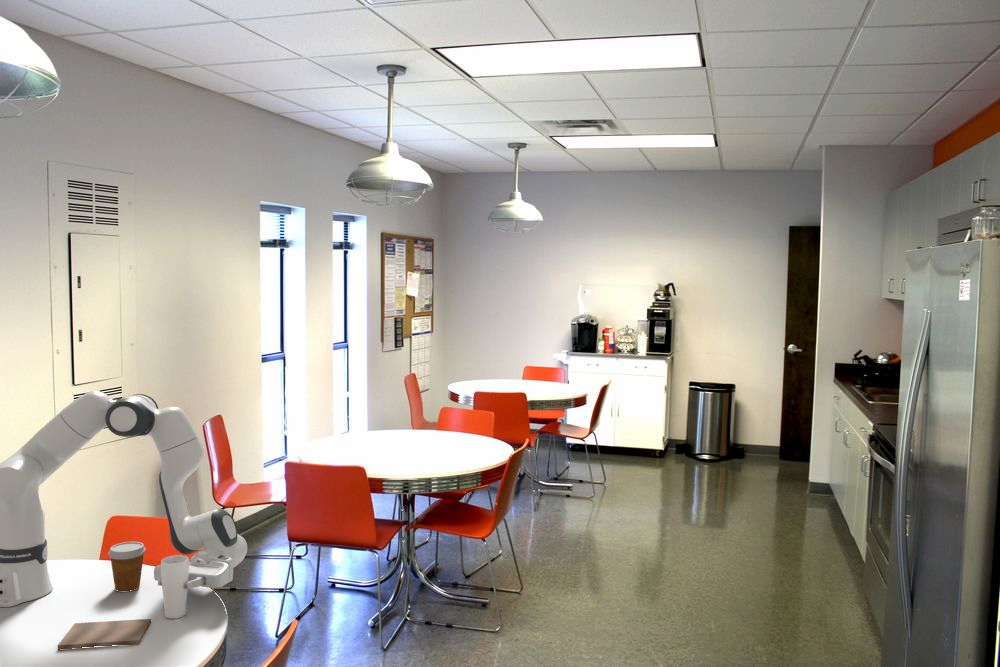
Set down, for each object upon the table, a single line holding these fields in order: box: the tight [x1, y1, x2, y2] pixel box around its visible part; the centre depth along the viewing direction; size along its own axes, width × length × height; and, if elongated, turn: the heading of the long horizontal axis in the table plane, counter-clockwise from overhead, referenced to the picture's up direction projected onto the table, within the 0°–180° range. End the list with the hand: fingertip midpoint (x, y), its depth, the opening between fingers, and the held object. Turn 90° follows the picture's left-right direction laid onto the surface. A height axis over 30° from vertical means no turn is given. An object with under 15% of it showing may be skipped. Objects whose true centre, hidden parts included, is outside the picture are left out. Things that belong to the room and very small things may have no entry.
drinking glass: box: [160, 554, 190, 620], centre depth 203 cm, size 7×7×15 cm
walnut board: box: [57, 618, 152, 651], centre depth 191 cm, size 18×12×1 cm, turn 101°
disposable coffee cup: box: [107, 541, 146, 592], centre depth 220 cm, size 10×10×12 cm
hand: (173, 584), depth 202 cm, fingers closed on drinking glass, 6 cm apart
